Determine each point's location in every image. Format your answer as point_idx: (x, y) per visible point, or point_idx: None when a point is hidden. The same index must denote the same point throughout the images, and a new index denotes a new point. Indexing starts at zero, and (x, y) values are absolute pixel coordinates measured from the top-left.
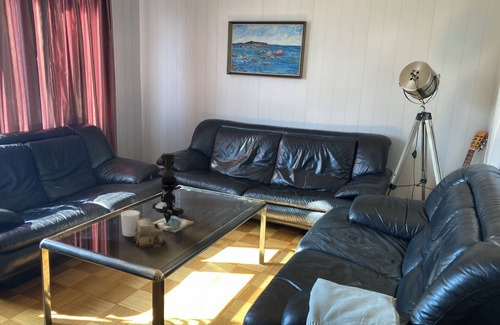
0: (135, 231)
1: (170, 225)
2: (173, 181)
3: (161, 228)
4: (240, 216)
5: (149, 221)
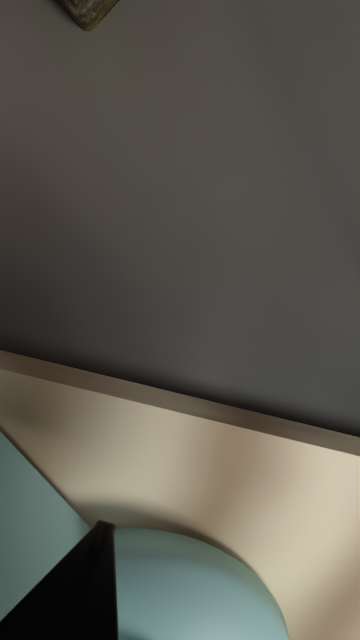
0: None
1: None
2: None
3: (211, 406)
4: None
5: None
